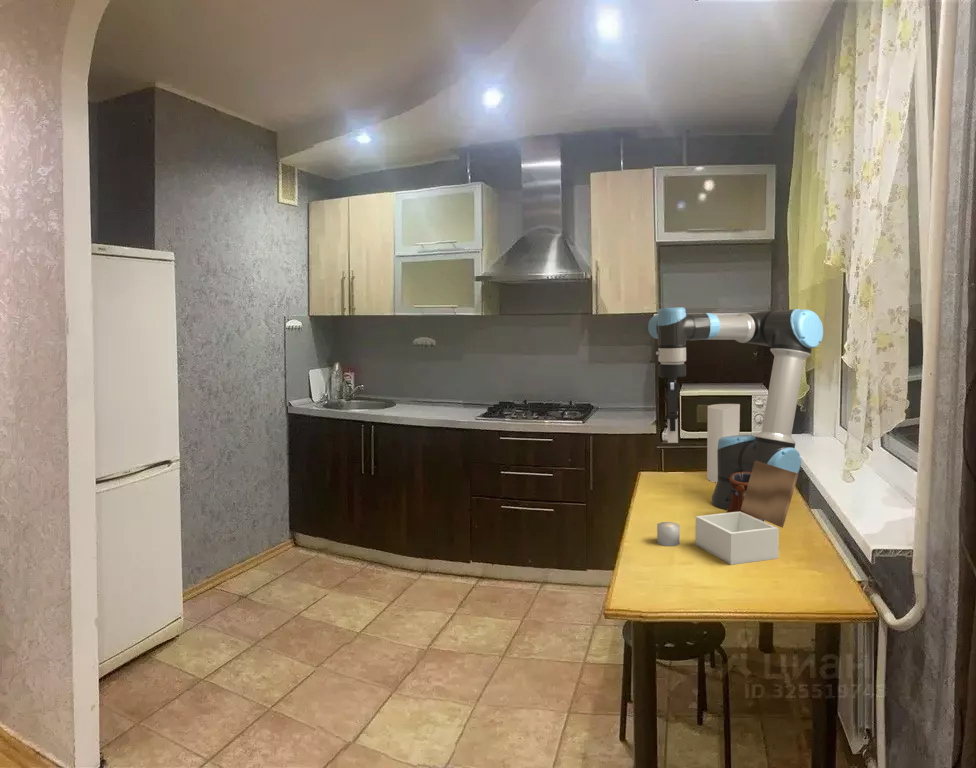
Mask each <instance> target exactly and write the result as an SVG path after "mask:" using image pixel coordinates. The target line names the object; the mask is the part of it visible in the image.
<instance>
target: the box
mask: <svg viewBox="0 0 976 768" xmlns="http://www.w3.org/2000/svg"><path fill="white" fill-rule="evenodd" d="M779 534H780V528H779V526H776V525H774V524H772V523H769V522H767V521H765V520H764V521H761V520H759V519H757V518H754V517H752V516H750V515H747V514H745V513H743V512H740V511H739V512H730V513H727V512H722V513H713V514H705V515H696V516H695V546H697V547H699V548H700V549H702V550H704V551H706V552H707V553H709V554H711V555H712V556H714V557H716V558H718V559H720V561H721V560H722V561H724V562H725V563H727V564H729V565H731V566H732V565H738V564H739V565H740V564H741V565H742V564H748V563H754V562H761V561H769V560H776V559H779V549H780V548H779V546H780V545H779V543H780V542H779V539H780V537H779V536H780V535H779Z"/></svg>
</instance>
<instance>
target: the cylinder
mask: <svg viewBox="0 0 976 768" xmlns="http://www.w3.org/2000/svg"><path fill="white" fill-rule="evenodd" d="M740 411H741V404H740V403H717V404H710V405H707V427H706V428H707V429H706V431H707V433H706V434H707V439H706V441H707V442H706V443H707V445H706V446H707V449H706V450H707V453H706V456H707V458H706V459H707V462H706V464H707V465H706V467H707V468H706V469H707V470H706V480H707V479H708V481H709V480H710V481H709V482H711V481H713V482H717V481H718V459H717V449H718V441H719V439H720V438H722V437H725V436H734V435H740V429H741V428H740V423H741V414H740V413H741V412H740ZM713 482H712V483H713Z"/></svg>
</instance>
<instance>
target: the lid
mask: <svg viewBox="0 0 976 768" xmlns="http://www.w3.org/2000/svg"><path fill="white" fill-rule="evenodd" d="M798 477H799V472H798V473H795V472H791V471H788V470H785V469H781V468H778V467H775V466H772V465H768V464H765V463H762V462H758V461H755V462H754V465H753V469H752V472H751V476H750V479H749V483H748V486H747V490H746V493H745V496H744V500H743V503H742V507H741V510H742V511H744V512H746V513H749V514H751V515H753V516H756V517H758V518H760V519H763V520H764V522H766V523H769V524H771V525H773V526H776V527H778V528H779V527H780V528H784V525H785V523H786V519H787V516H788V512H789V508H790V505H791V501H792V497H793V494H794V490H795V488H796V485H797V480H798Z"/></svg>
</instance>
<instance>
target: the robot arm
mask: <svg viewBox="0 0 976 768" xmlns="http://www.w3.org/2000/svg"><path fill="white" fill-rule="evenodd" d="M647 327H648V328H647V329H648V333H649V334H650V336H651V337H652V338H653V339H656V340H657V347H658V349H657V351H656V352H655V355H656V356H658V360H657V361H658V362H659V364H658V365H657V369H658V372H657V373H658V377H660V378H663V379H667V383H666V382H665V384H664V390H665V398H666V399H667V414H666V415H664V419H665V420H667V443H669V444H671V443H672V444H673V443H674V444H675V443H676V444H678V443H679V418H678V417H679V414H678V413H679V412H680V411H681V409H680V406H678V399H679V398H680V394H679V393H680V391H681V390H680V389H681V388H680V387H681V385H680V383H679V382H677V381H678V378H685V377H686V376H687V364H686V363H685V362H687V341H701V340H702V341H703V340H704V341H707V340H721V341H722V340H726V341H727V340H729V341H730V340H733V341H734V340H735V342H738V343H741V344H752V345H758V346H764V347H770V349H769V351H770V352H771V353H772V355H773V356H774V358H773V362H772V363H773V364H772V368H771V374H770V380H769V387H768V391H767V399H766V403H765V409H764V415H763V420H762V428H761V431H760V432H759V433H757V434H756V435H753V434H741V435H740V434H739V435H734V436H725V437H722V438H720V439H719V441H718V449H717V459H718V481H717V483H715V488H714V490H713V493H712V495H711V504H712V505H713V506H714V507H716V508H720V509H723V510H728V508H729V506H730V502H731V496H732V492H731V490H730V486H731V482H730V480H729V478H730V475H732V474H733V473H737V472H752V469H753V465H754V462H755V461H758V462H762V463H765V464H768V465H772V466H775V467H778V468H781V469H785V470H788V471H791V472H795V473H798V474H799V471H800V470H801V467H802V457H801V454H800V452H799V451H798V450H797V449H796V448H795V447H796V441H795V440H794V438H793V437H792V433H793V429H794V428H793V427H794V423H795V421H794V420H795V418H796V417H795V416H796V411H797V405H798V398H799V392H800V387H801V381H802V375H803V369H804V364H805V360H806V359H807V358H809V357H810V356H811V354H812V349H815V348H816V347H818V346H819V345H820V343H822V341H823V337H824V326H823V322H822V320H821V319H820V317H819V315H818V314H817V313H815V312H814V311H813V310H810V309H802V308H801V309H800V308H796V309H779V310H778V309H776V310H775V309H772V310H771V309H770V310H769V309H768V310H763V311H756V312H742V313H738V314H737V315H716V314H715V313H710V312H701V313H700V312H699V313H686V308H685V307H681V306H680V307H679V306H678V307H663V308H662V307H661V308H659V310H658V312H657V314H655V315H653V316H652V317H651V318H650V319H649V321H648V326H647Z"/></svg>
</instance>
